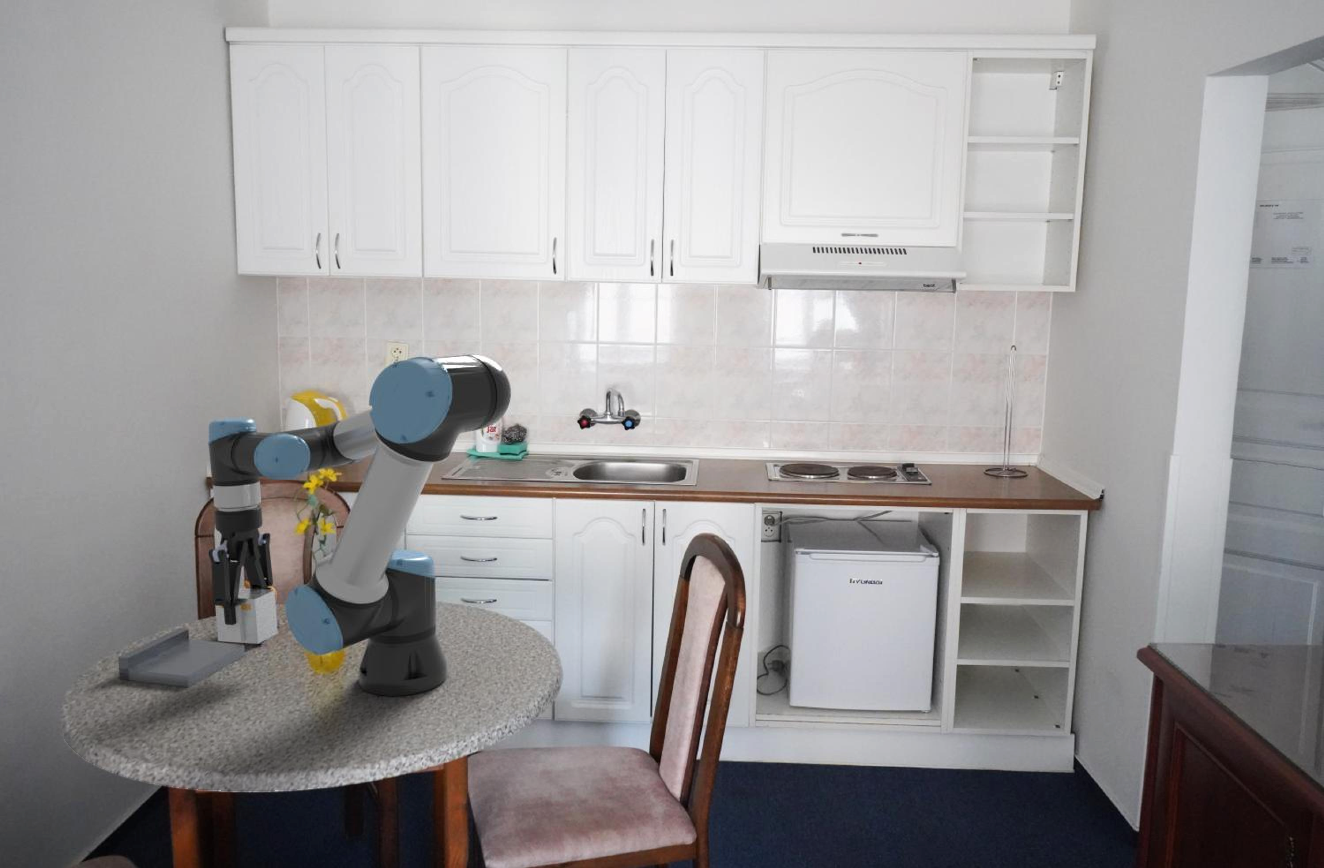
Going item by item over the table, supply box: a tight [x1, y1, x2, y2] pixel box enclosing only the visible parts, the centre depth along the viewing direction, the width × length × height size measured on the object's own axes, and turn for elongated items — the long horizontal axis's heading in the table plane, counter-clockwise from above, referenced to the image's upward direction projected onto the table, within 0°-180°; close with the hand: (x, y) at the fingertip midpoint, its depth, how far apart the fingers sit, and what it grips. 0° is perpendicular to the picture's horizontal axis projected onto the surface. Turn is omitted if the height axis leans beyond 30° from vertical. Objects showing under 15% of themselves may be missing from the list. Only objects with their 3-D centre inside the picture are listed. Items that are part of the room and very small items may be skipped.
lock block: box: [214, 587, 279, 645], centre depth 167 cm, size 8×6×8 cm
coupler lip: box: [117, 628, 246, 688], centre depth 171 cm, size 14×15×4 cm
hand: (247, 634), depth 167 cm, fingers closed on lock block, 6 cm apart
